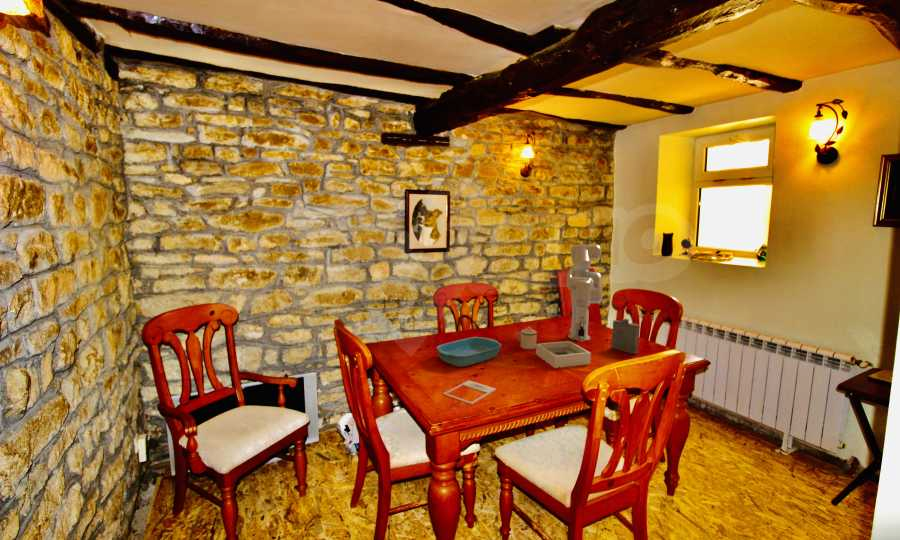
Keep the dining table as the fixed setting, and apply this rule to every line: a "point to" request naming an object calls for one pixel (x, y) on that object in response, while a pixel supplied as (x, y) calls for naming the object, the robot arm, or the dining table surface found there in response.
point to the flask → (625, 336)
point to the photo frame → (473, 386)
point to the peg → (580, 338)
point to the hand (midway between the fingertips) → (580, 334)
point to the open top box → (563, 354)
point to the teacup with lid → (528, 338)
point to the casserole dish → (468, 351)
